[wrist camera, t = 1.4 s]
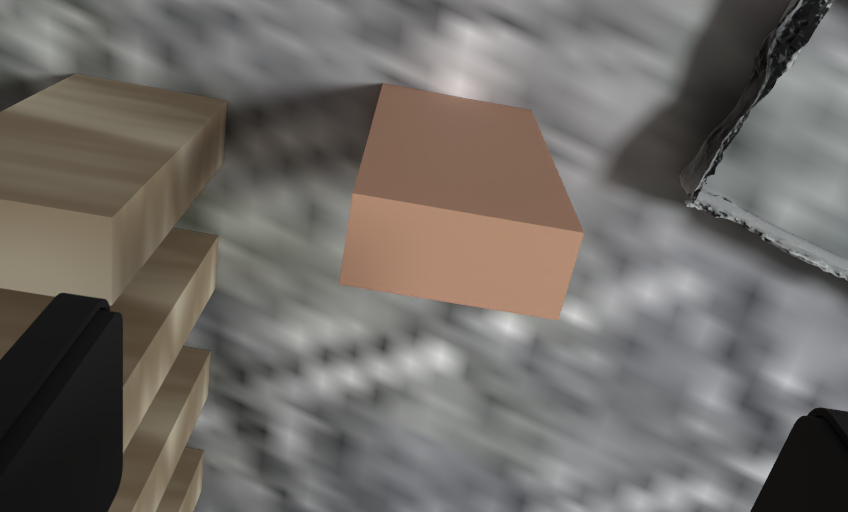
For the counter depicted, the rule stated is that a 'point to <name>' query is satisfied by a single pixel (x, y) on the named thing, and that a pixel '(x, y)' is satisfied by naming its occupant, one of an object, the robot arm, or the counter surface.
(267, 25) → the counter surface
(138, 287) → the domino
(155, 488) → the domino
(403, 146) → the domino
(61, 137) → the domino
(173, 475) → the domino
